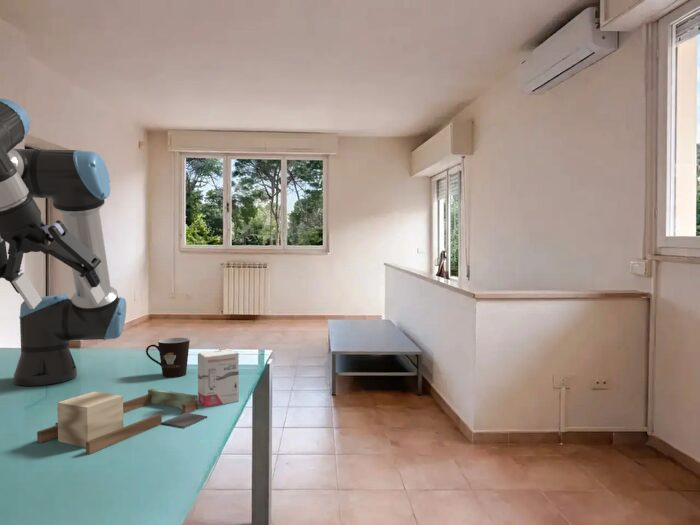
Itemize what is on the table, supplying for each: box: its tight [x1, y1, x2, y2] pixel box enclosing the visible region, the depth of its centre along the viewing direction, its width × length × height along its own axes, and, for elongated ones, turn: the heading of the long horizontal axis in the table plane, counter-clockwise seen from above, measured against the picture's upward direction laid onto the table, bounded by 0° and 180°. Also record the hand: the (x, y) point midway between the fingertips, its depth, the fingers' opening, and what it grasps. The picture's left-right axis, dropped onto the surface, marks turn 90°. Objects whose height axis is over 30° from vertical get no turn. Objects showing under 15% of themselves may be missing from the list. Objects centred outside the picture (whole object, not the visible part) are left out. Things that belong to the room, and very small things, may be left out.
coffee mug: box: [145, 337, 191, 379], centre depth 148 cm, size 12×9×10 cm
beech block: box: [56, 391, 124, 448], centre depth 99 cm, size 8×8×8 cm
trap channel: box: [36, 388, 208, 455], centre depth 106 cm, size 26×28×3 cm
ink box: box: [197, 348, 240, 408], centre depth 121 cm, size 9×5×12 cm, turn 124°
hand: (67, 302), depth 96 cm, fingers open, 13 cm apart
